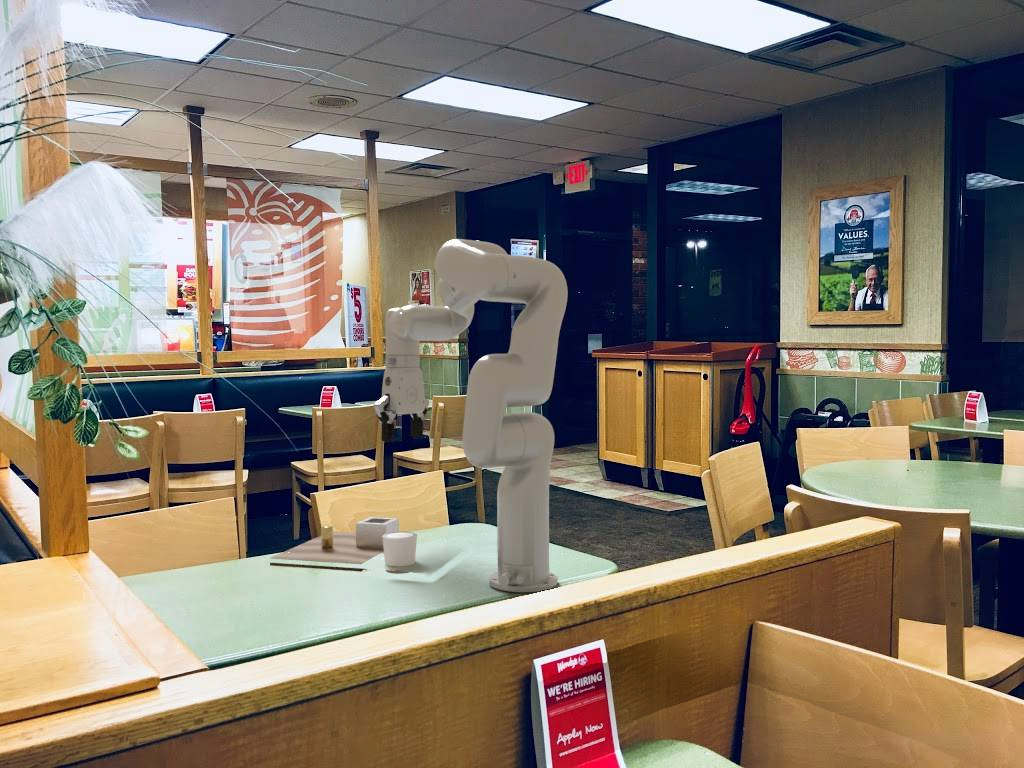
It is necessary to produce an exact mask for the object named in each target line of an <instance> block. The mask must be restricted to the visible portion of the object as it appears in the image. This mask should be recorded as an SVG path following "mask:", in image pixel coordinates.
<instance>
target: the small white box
mask: <svg viewBox="0 0 1024 768" xmlns="http://www.w3.org/2000/svg"><path fill="white" fill-rule="evenodd" d="M391 532H400V520H399V518H397V517H396V518H394V517H379V516H378V517H377V516H376V517H375V516H368V517H367V518H364V519H362V520H360V521H357V522H355V533H356V546H359V547H376V548H384V547H383V537H382V536H383V535H384V534H387V533H391Z"/></svg>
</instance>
